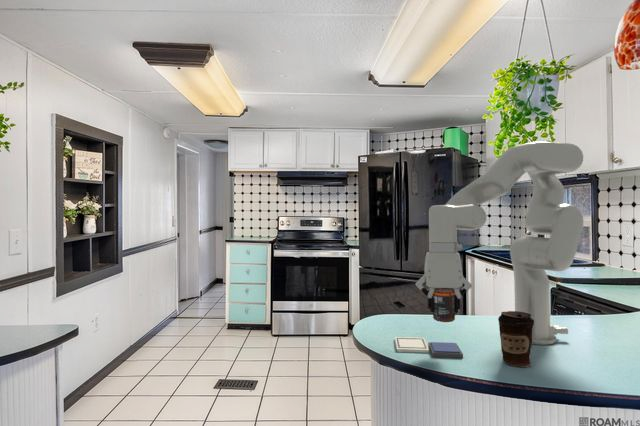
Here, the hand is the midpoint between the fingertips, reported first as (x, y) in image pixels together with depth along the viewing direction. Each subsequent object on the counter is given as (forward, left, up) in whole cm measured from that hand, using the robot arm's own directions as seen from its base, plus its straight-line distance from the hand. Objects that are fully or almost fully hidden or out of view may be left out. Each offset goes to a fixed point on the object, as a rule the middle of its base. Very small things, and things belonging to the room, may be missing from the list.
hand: (443, 310), depth 104 cm
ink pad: (0, 0, -12) cm, 12 cm away
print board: (+9, -4, -12) cm, 15 cm away
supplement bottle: (0, 0, -3) cm, 3 cm away
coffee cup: (-17, +6, -12) cm, 22 cm away
